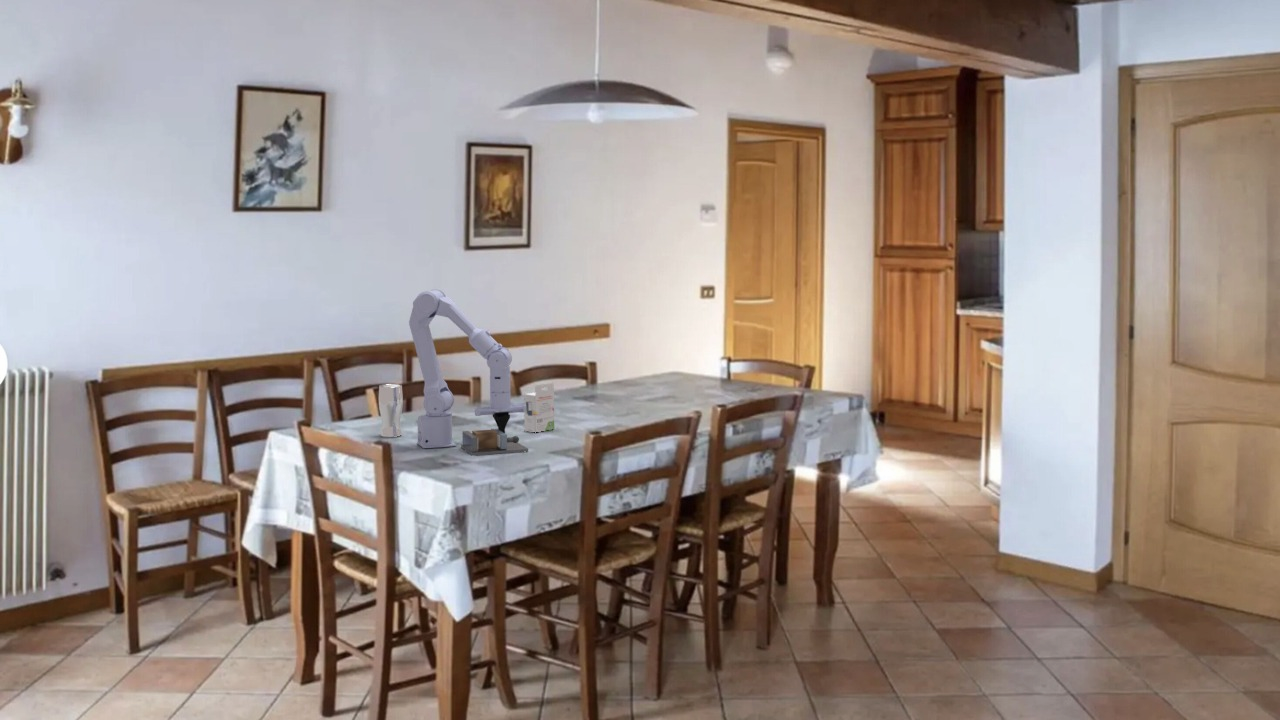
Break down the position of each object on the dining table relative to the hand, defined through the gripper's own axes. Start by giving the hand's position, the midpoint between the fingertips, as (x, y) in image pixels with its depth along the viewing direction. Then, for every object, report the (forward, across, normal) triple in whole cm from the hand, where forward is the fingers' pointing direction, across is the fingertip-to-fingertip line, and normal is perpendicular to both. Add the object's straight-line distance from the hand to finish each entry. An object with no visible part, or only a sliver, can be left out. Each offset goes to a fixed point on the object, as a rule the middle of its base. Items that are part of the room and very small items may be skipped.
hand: (501, 439), depth 322 cm
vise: (+2, -3, -2) cm, 4 cm away
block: (+2, -5, -2) cm, 6 cm away
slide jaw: (+1, 0, -2) cm, 2 cm away
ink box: (+3, +18, +21) cm, 28 cm away
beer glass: (+2, -26, +27) cm, 37 cm away
